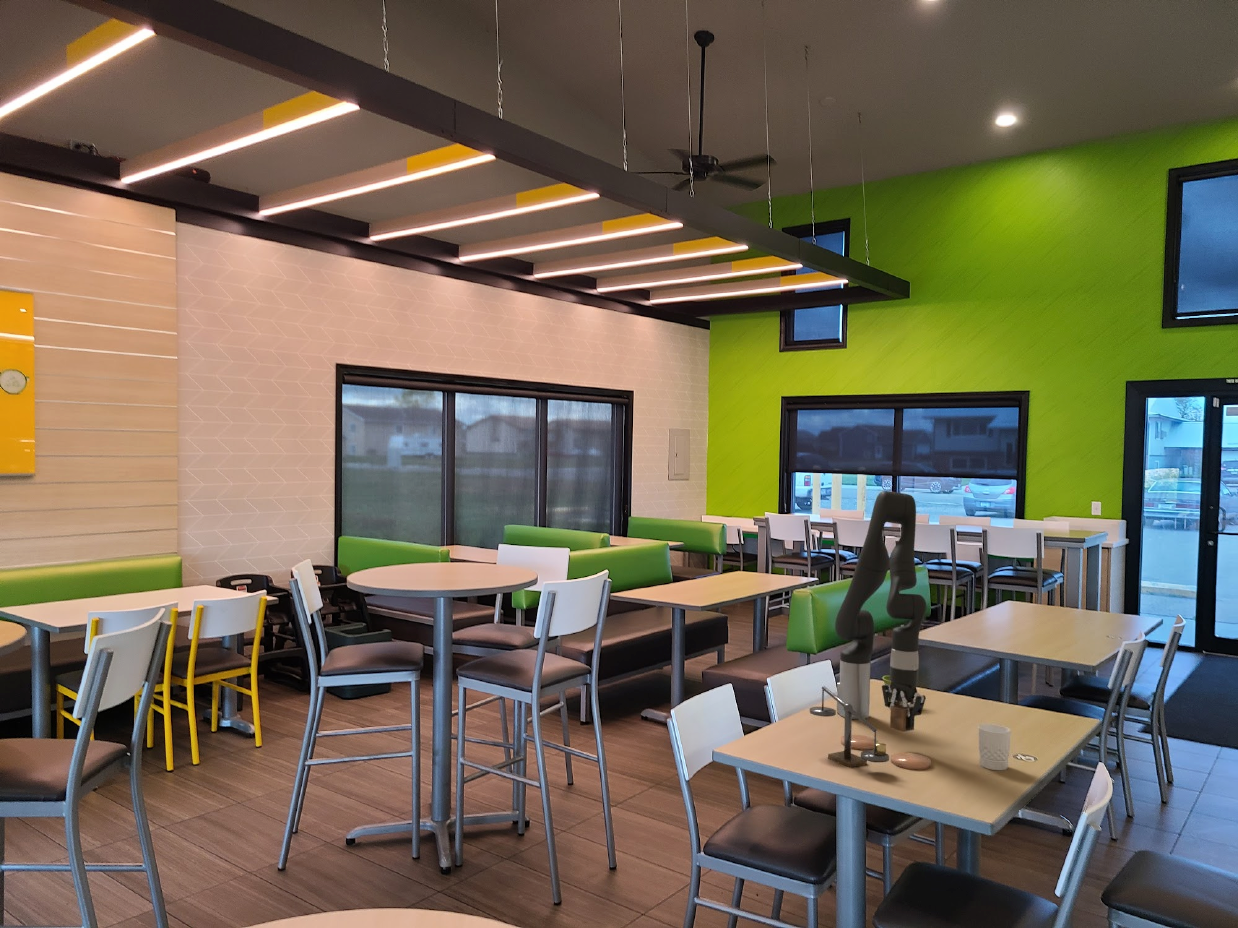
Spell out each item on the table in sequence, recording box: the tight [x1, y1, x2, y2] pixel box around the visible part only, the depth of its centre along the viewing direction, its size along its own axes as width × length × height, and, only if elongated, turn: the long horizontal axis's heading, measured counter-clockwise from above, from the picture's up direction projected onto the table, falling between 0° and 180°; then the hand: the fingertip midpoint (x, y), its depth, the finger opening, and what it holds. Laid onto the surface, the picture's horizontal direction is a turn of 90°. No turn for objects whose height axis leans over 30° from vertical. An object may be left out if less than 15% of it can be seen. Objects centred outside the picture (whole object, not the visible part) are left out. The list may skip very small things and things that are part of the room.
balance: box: [809, 685, 890, 768], centre depth 232 cm, size 26×7×18 cm, turn 31°
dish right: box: [890, 752, 932, 771], centre depth 231 cm, size 10×10×1 cm
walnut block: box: [889, 704, 915, 733], centre depth 243 cm, size 4×4×6 cm
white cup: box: [977, 723, 1012, 771], centre depth 230 cm, size 8×8×10 cm
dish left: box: [840, 734, 879, 751], centre depth 247 cm, size 10×10×1 cm
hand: (902, 726), depth 243 cm, fingers closed on walnut block, 4 cm apart
